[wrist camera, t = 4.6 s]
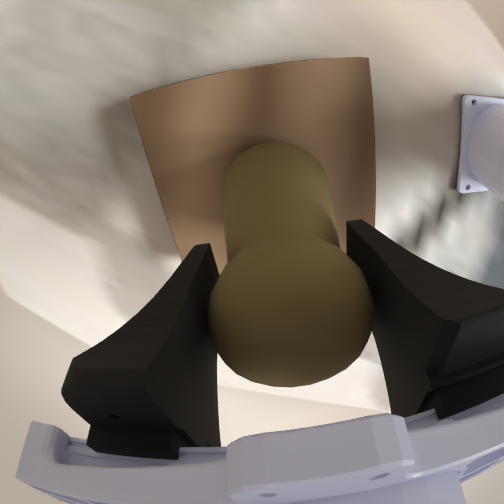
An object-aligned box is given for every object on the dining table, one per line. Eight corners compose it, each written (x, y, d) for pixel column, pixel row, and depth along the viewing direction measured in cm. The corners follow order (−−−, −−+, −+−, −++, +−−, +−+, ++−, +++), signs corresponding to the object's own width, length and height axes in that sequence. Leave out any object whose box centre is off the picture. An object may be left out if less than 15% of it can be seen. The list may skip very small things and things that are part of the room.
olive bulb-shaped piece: (236, 128, 16) (207, 248, 6) (345, 160, 16) (439, 300, 7) (211, 227, 19) (177, 394, 10) (307, 250, 20) (341, 414, 11)
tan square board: (351, 56, 16) (368, 57, 14) (360, 231, 24) (373, 253, 21) (145, 90, 17) (130, 97, 15) (194, 257, 25) (189, 282, 22)
